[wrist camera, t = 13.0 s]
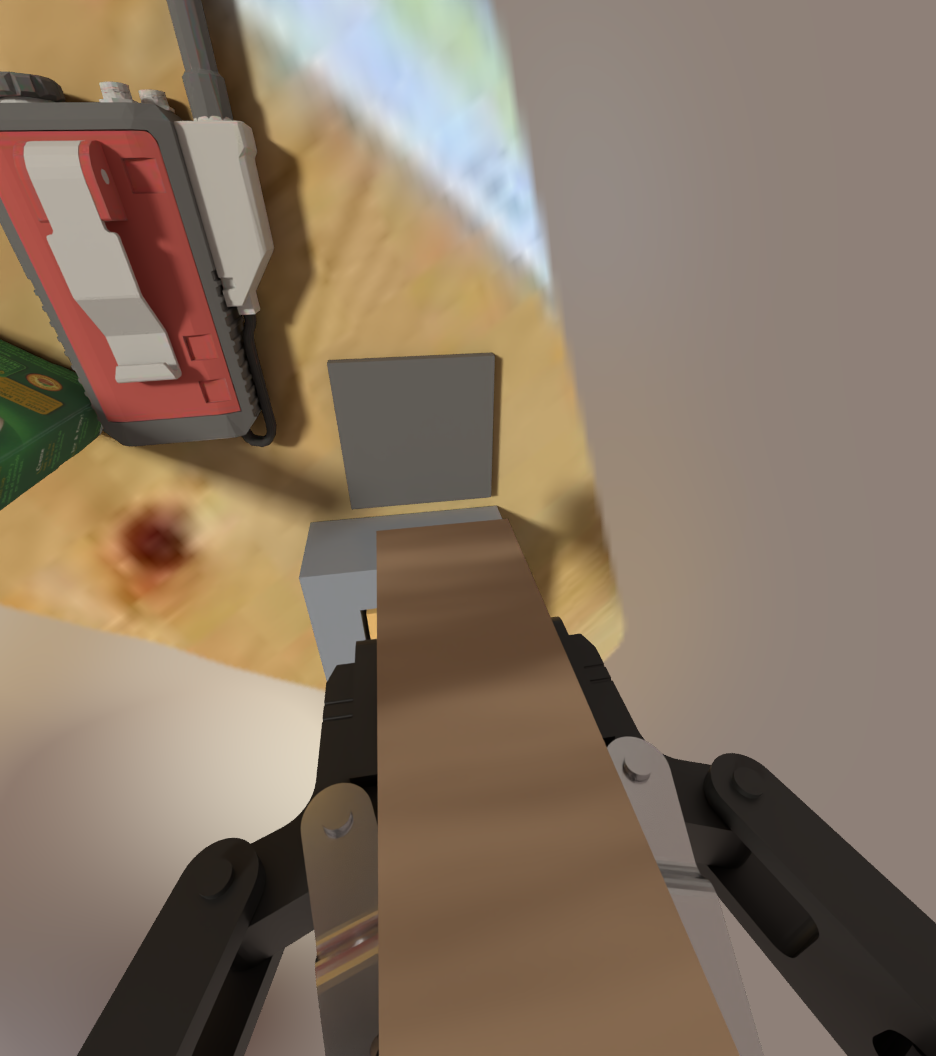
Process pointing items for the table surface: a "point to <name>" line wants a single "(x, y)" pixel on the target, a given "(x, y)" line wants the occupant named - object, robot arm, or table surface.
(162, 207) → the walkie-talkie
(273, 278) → the table surface
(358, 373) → the mat
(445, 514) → the box
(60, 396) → the coffee box
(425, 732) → the tall cardboard-brown rectangular prism
